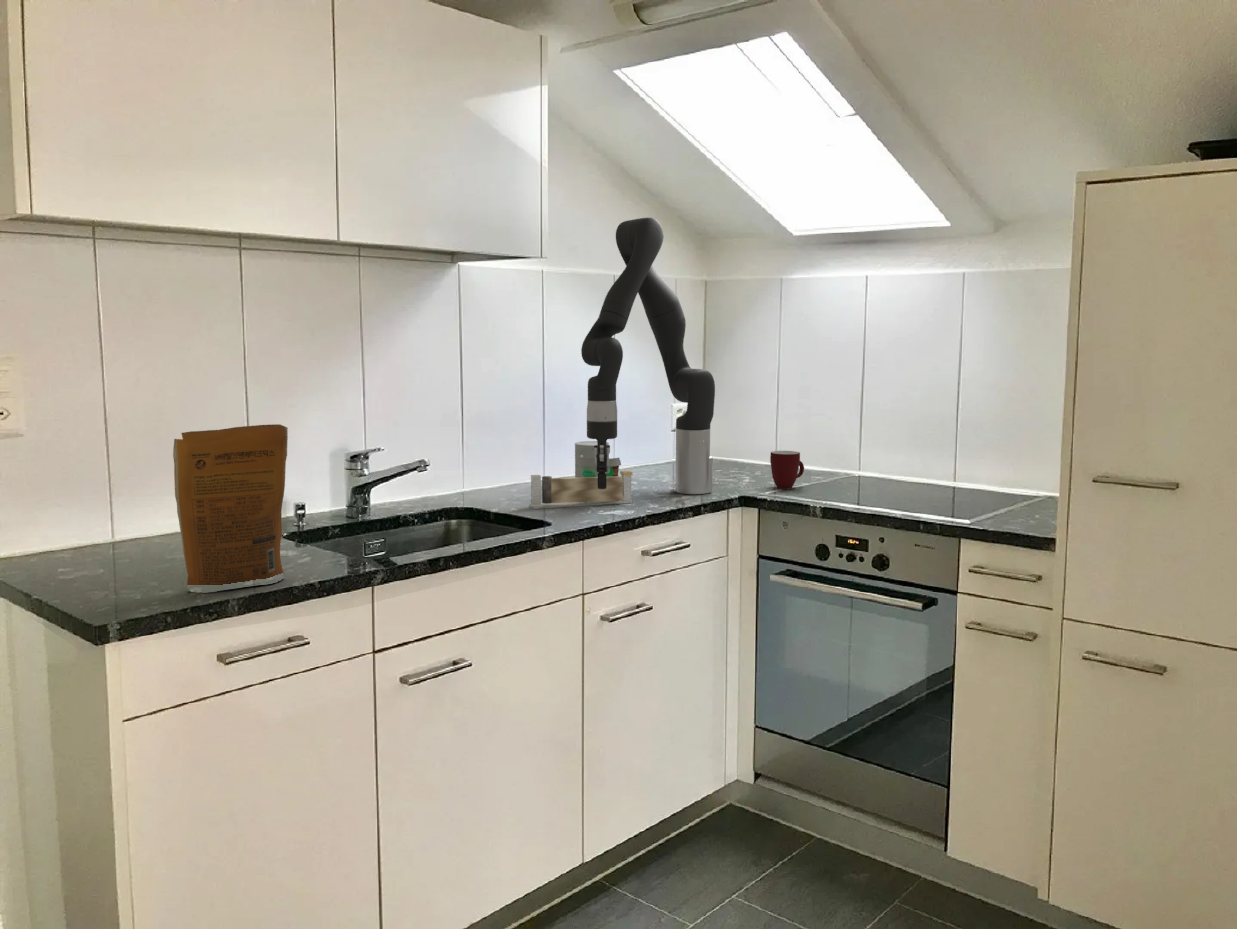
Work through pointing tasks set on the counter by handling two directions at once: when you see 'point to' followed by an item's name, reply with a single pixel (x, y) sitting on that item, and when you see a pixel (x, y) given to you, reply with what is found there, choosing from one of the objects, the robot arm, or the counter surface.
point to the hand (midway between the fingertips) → (602, 488)
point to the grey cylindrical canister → (585, 450)
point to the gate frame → (537, 502)
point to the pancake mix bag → (231, 502)
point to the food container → (590, 467)
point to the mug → (785, 468)
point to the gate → (580, 489)
